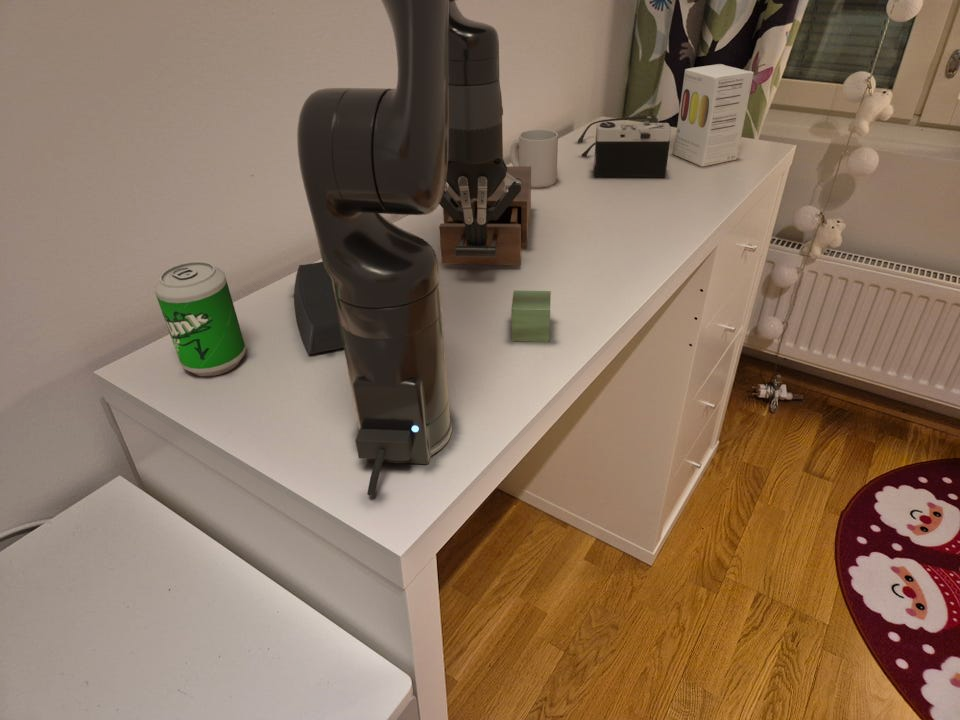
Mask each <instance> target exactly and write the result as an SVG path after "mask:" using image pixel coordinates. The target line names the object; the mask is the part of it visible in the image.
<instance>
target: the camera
mask: <svg viewBox="0 0 960 720" xmlns="http://www.w3.org/2000/svg"><path fill="white" fill-rule="evenodd" d="M595 129H596V130H595V142H594V143H595V145H594V159H593V160H594V161H593V178H595V179H597V178H599V179H600V178H602V179H604V178H605V179H625V178H626V179H665V178H666V175H667V167H668V159H669V153H670V144H671V141H670V137H671V132H672V128H671V126H670V123H668V122H658V123H650V120H645V121H644V122H613V121H607V122H599V123H596V128H595Z"/></svg>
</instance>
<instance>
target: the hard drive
mask: <svg viewBox="0 0 960 720" xmlns="http://www.w3.org/2000/svg"><path fill="white" fill-rule="evenodd" d="M293 304H294V305H293V306H294V314H295V320H296V324H297V328H298V332H299V335H300V338H301V341H302V344H303V346H304V348H305V350H306V352H307V354H308V355H313V354H319V353H324V352H328V351H329V352H330V351H334V350H339V349H344V346H343V340H342V335H341V329H340V324H339V318H338V312H337V307H336V301H335V296H334V291H333V286H332V281H331V278H330V276H329V274H328V272H327V271H326V269H325V266H324V264H323V261H319V262H313V263H305V264H299V265H298V268H297V271H296V274H295V282H294V289H293Z"/></svg>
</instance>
